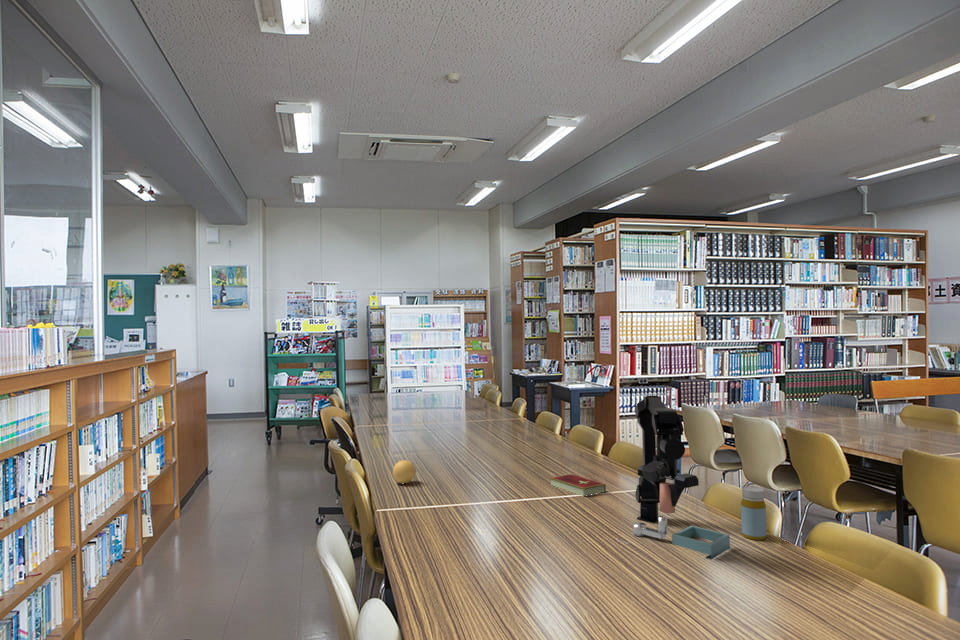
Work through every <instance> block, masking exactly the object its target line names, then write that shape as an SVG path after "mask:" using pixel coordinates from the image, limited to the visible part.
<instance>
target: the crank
mask: <svg viewBox="0 0 960 640" xmlns="http://www.w3.org/2000/svg"><path fill="white" fill-rule="evenodd" d="M657 523H658V525H657V526H658V529H655V528H651V527H647V523H645V522H639V521H636V522H633V524H632V534H633V535H634V536H636V537H645V536H648V537H652V538H657V539H660V540H662V539H664V538H666V535H668V517H667V516H666V515H658V521H657Z"/></svg>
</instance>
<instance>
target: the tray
mask: <svg viewBox="0 0 960 640" xmlns="http://www.w3.org/2000/svg"><path fill="white" fill-rule="evenodd" d="M692 537H696V538H700V539H703V540H707V541H708V540H709V541H711V542H705V541H702V540H699V539H695V538H692ZM671 540H672V541H671V544H672V545H674V546H677V547H681V548H685V549H690V550H692V551H695V552H699V553H702V554H706V555H707V556H706V559H708V558H709V560H712V558H713V559H714V558H716V557H718V556H720V555H721V554H723V553H724V552H727V551H728V550H730V549H731V542H730V540H731V538H730V534H727V533H723V532H720V531H716V530H713V529H712V530H711V529H707V528H704V527H700V526H695V525H689V526H688V527H685V528H682V529H681V530H679V531H677V532H675V533H673V534H671Z"/></svg>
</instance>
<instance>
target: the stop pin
mask: <svg viewBox="0 0 960 640" xmlns="http://www.w3.org/2000/svg"><path fill="white" fill-rule="evenodd" d="M669 484H673V482H669V481H668V482H667V481H666V482H662V483H660V503H659V511H660V512H661V513H665V514H674V513H676V506H674V507H673V506H672V502H671V489H670V487H669V486H668V485H669Z"/></svg>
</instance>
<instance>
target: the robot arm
mask: <svg viewBox="0 0 960 640" xmlns="http://www.w3.org/2000/svg"><path fill="white" fill-rule="evenodd" d="M635 418H636V422H637V424H638V425H639V427H640V428H641V434H642V435H641V436H642V437H641V439H642V440H641V441H642V465H639V467H637V476H639V478H638V484H637V485H636V490H635V501H636V502H637V504H640V505H639V506H640V507H639V511H640V513H639V514H640V515H639V516H637V517H636V520H640V521H643V522H647V523H651V524H654V523H658V516H659V504H660V483H662V482H667V480H670V481H672V483H673V484H669V485H668V486H669V487H670V489H671V502H672V506H673V507H674V506H675V507H676V506H677V504H678V501H679V499H680V497H681V495H682V493H683V492H684V490H685V489H688V488H692V487H699V486H700V485H699V483H700V482H699V477H698V476H697V475H695V474H691V473H687V472H685V473H683V474H680V473H681V471H680V469H679V468H678V465H677V464H678V462H677V460H680V459H681V458H683V457H684V454H685V453H686V446H685V445H684V442H682V441H681V440H679V437H678V436H684V430H685V428H684V425H683V421H682V419H681V417H680V414H679V413H678V412H677V410H675V409H674V408H669V407H667V406H666V404H664V402H663V401H662V397H661V396H660V395H656V394H655V395H645V396H644V398H643V399H642V400H639V402H637V403H636V407H635Z"/></svg>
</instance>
